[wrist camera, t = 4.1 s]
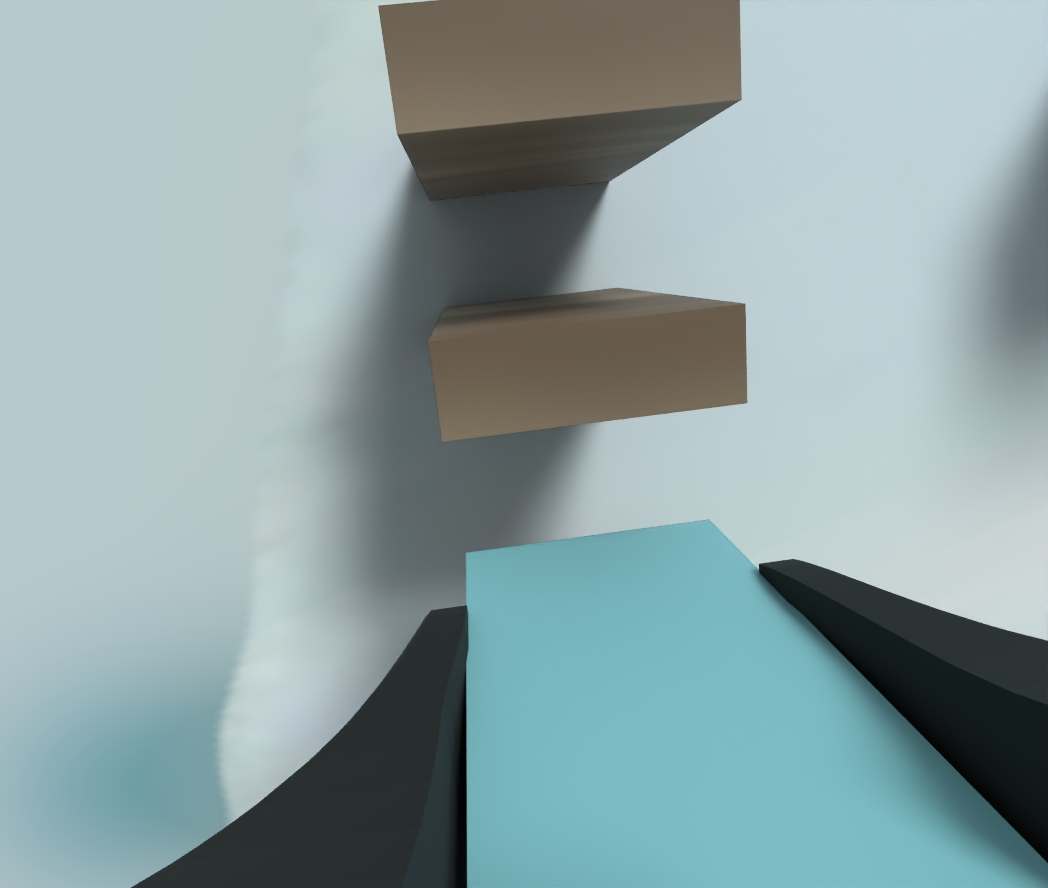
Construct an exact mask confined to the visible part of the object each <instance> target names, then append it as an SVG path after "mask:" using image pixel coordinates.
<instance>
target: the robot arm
mask: <svg viewBox="0 0 1048 888" xmlns="http://www.w3.org/2000/svg"><path fill="white" fill-rule="evenodd" d="M759 573H760V574H761V575H762V576H763V577H764V578H765V579H766V580H767V581H768V582H769V583H770V584H771V585H772V586H773V587H774V588H775V589H776V590H777V592H778V593H779V594H780V595H781V596H782V597H783V598H784V599H785V600H786V601H787V602H788V603H790V604H791V605H792V606H793V607H794V608H796V609H797V610H798V611H799V612H800V613H801V614H803V615H804V616H805V617H806V618H807V619H808V620H809V621H810V622H811V623H812V624H813V625H814V626H815V627H816V628H817V630H818V631H819V632H820V633H821V634H822V635H823V636H824V637H825V638H826V639H827V640H828V641H829V642H830V643H831V644H832V645H833V646H834V647H835V648H836V649H837V650H838V651H839V652H840V653H841V654H842V655H843V656H844V657H845V658H846V659H847V660H848V661H849V662H850V663H851V664H852V665H853V666H854V667H855V668H856V669H857V670H858V671H859V672H860V673H861V674H862V675H863V676H864V677H865V678H866V679H867V680H868V681H869V682H870V683H871V684H872V685H873V686H874V687H875V688H876V689H877V690H878V691H879V692H880V693H881V694H882V695H883V696H884V697H885V699H886V700H887V701H888V702H889V703H890V704H891V705H892V706H893V707H894V708H895V709H896V710H897V711H898V712H899V713H900V714H901V715H902V716H903V717H904V718H905V719H906V720H907V721H908V722H909V723H910V724H911V725H912V726H913V727H914V728H915V729H916V730H917V731H918V732H919V733H920V734H921V735H922V736H923V737H924V738H925V739H926V740H927V741H928V742H929V743H930V744H931V745H932V746H933V747H934V748H935V749H936V750H937V751H938V752H939V753H940V754H941V755H942V756H943V757H944V758H945V759H946V760H947V761H948V762H949V763H950V764H951V765H952V766H953V768H954V769H955V770H956V771H957V772H958V773H959V774H960V775H961V776H962V777H963V778H964V779H965V780H966V781H967V782H968V783H969V784H970V785H971V786H972V787H973V788H974V789H975V790H976V791H977V792H978V793H979V794H980V795H981V796H982V797H983V798H984V799H985V800H986V801H987V802H988V803H989V804H990V805H991V806H992V807H993V808H994V809H995V810H996V811H997V812H998V813H999V814H1000V815H1001V816H1002V817H1003V818H1004V819H1005V820H1006V821H1007V822H1008V823H1009V824H1010V825H1011V826H1012V827H1013V828H1014V829H1015V830H1016V831H1017V832H1018V833H1019V834H1020V835H1021V837H1022V838H1023V839H1024V840H1025V841H1026V842H1027V843H1028V844H1029V845H1030V846H1031V847H1032V848H1033V849H1034V850H1035V851H1036V852H1037V853H1038V854H1039V855H1040V856H1041V857H1042V858H1043V859H1044V860H1045V861H1046V862H1047V863H1048V641H1046V640H1042V639H1038V638H1034V637H1031V636H1027V635H1023V634H1019V633H1015V632H1011V631H1007V630H1004V629H1000V628H997V627H993V626H990V625H986V624H983V623H979V622H976V621H973V620H970V619H967V618H964V617H961V616H958V615H954V614H951V613H948V612H945V611H942V610H939V609H936V608H933V607H930V606H927V605H924V604H921V603H918V602H916V601H913V600H910V599H907V598H904V597H902V596H899V595H896V594H893V593H891V592H888V591H885V590H882V589H880V588H877V587H874V586H872V585H869V584H866V583H864V582H861V581H858V580H856V579H853V578H850V577H848V576H845V575H842V574H840V573H837V572H834V571H831V570H828V569H825V568H823V567H820V566H817V565H814V564H811V563H807V562H804V561H800V560H795V559H790V560H783V561H776V562H769V563H762V564H759ZM468 649H469V635H468V609H467V605H466V606H459V607H452V608H445V609H438V610H431V611H430V613H429V614H428V615H427V616H426V617H425V619H424V620H423V622H422V624H421V625H420V627H419V628H418V630H417V632H416V633H415V635H414V636H413V638H412V639H411V641H410V642H409V644H408V645H407V647H406V648H405V650H404V651H403V653H402V654H401V656H400V657H399V659H398V660H397V661H396V663H395V664H394V665H393V667H392V668H391V670H390V671H389V672H388V674H387V675H386V677H385V678H384V679H383V681H382V682H381V683H380V685H379V686H378V687H377V688H376V690H375V691H374V692H373V693H372V694H371V696H370V697H369V698H368V699H367V701H366V702H365V703H364V704H363V705H362V707H361V708H360V709H359V710H358V711H357V713H356V714H355V715H354V716H353V717H352V719H351V720H350V721H349V722H348V723H347V724H346V725H345V726H344V727H343V728H342V729H341V730H340V731H339V732H338V733H337V734H336V735H335V736H334V737H333V738H332V739H331V740H330V741H329V742H328V743H327V744H326V745H325V746H324V747H323V748H322V749H321V750H320V751H319V752H318V753H317V754H316V755H315V756H314V757H313V758H312V759H310V760H309V761H308V762H307V763H306V764H305V765H304V766H302V767H301V768H300V769H299V770H298V771H296V772H295V773H294V774H293V775H292V776H290V777H289V778H288V779H287V780H286V781H284V782H283V783H282V784H281V785H280V786H278V787H277V788H276V789H275V790H274V791H272V792H271V793H270V794H269V795H268V796H266V797H265V798H264V799H263V800H262V801H260V802H259V803H258V804H257V805H255V806H254V807H253V808H251V809H250V810H249V811H247V812H246V813H244V814H243V815H242V816H240V817H239V818H238V819H236V820H235V821H234V822H232V823H231V824H229V825H228V826H227V827H225V828H224V829H223V830H221V831H220V832H218V833H217V834H215V835H214V836H212V837H211V838H209V839H208V840H207V841H205V842H204V843H202V844H201V845H199V846H198V847H197V848H195V849H193V850H192V851H190V852H189V853H187V854H186V855H184V856H182V857H181V858H179V859H178V860H176V861H175V862H173V863H172V864H170V865H168V866H167V867H165V868H163V869H162V870H160V871H158V872H157V873H155V874H153V875H151V876H150V877H148V878H146V879H145V880H143V881H141V882H140V883H138V884H136V885H135V886H133V887H131V888H467V707H466V662H467V656H468Z"/></svg>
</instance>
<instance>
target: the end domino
mask: <svg viewBox="0 0 1048 888" xmlns="http://www.w3.org/2000/svg"><path fill="white" fill-rule="evenodd" d="M378 7H379V14H380V21H381V28H382V34H383V41H384V48H385V55H386V62H387V68H388V75H389V82H390V89H391V95H392V102H393V109H394V116H395V123H396V129H397V135H398V137H399V139H400V141H401V143H402V145H403V147H404V149H405V151H406V153H407V155H408V157H409V159H410V161H411V163H412V165H413V167H414V169H415V171H416V173H417V175H418V177H419V180H420V182H421V184H422V186H423V188H424V190H425V192H426V194H427V196H428V198H429V200H438V199H447V198H457V197H466V196H475V195H485V194H494V193H503V192H513V191H522V190H531V189H541V188H550V187H559V186H569V185H578V184H587V183H597V182H606V181H611V180H612V179H614V178H616V177H617V176H619V175H620V174H622V173H624V172H625V171H627V170H628V169H630V168H632V167H633V166H635V165H637V164H638V163H640V162H641V161H643V160H645V159H646V158H648V157H649V156H651V155H653V154H654V153H656V152H658V151H659V150H661V149H662V148H664V147H666V146H667V145H669V144H670V143H672V142H674V141H675V140H677V139H678V138H680V137H682V136H683V135H685V134H687V133H688V132H690V131H691V130H693V129H695V128H696V127H698V126H699V125H701V124H703V123H704V122H706V121H708V120H709V119H711V118H712V117H714V116H716V115H717V114H719V113H720V112H722V111H724V110H725V109H727V108H729V107H730V106H732V105H733V104H735V103H737V102H738V101H740V100H741V99H742V98H741V48H740V0H437V1H426V2H415V3H404V4H392V5H381V6H378Z"/></svg>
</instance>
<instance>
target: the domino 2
mask: <svg viewBox="0 0 1048 888" xmlns="http://www.w3.org/2000/svg"><path fill="white" fill-rule="evenodd" d="M466 605H467V609H468V635H469V649H468V656H467V662H466V707H467V888H1048V863H1047V862H1046V861H1045V860H1044V859H1043V858H1042V857H1041V856H1040V855H1039V854H1038V853H1037V852H1036V851H1035V850H1034V849H1033V848H1032V847H1031V846H1030V845H1029V844H1028V843H1027V842H1026V841H1025V840H1024V839H1023V838H1022V837H1021V835H1020V834H1019V833H1018V832H1017V831H1016V830H1015V829H1014V828H1013V827H1012V826H1011V825H1010V824H1009V823H1008V822H1007V821H1006V820H1005V819H1004V818H1003V817H1002V816H1001V815H1000V814H999V813H998V812H997V811H996V810H995V809H994V808H993V807H992V806H991V805H990V804H989V803H988V802H987V801H986V800H985V799H984V798H983V797H982V796H981V795H980V794H979V793H978V792H977V791H976V790H975V789H974V788H973V787H972V786H971V785H970V784H969V783H968V782H967V781H966V780H965V779H964V778H963V777H962V776H961V775H960V774H959V773H958V772H957V771H956V770H955V769H954V768H953V766H952V765H951V764H950V763H949V762H948V761H947V760H946V759H945V758H944V757H943V756H942V755H941V754H940V753H939V752H938V751H937V750H936V749H935V748H934V747H933V746H932V745H931V744H930V743H929V742H928V741H927V740H926V739H925V738H924V737H923V736H922V735H921V734H920V733H919V732H918V731H917V730H916V729H915V728H914V727H913V726H912V725H911V724H910V723H909V722H908V721H907V720H906V719H905V718H904V717H903V716H902V715H901V714H900V713H899V712H898V711H897V710H896V709H895V708H894V707H893V706H892V705H891V704H890V703H889V702H888V701H887V700H886V699H885V697H884V696H883V695H882V694H881V693H880V692H879V691H878V690H877V689H876V688H875V687H874V686H873V685H872V684H871V683H870V682H869V681H868V680H867V679H866V678H865V677H864V676H863V675H862V674H861V673H860V672H859V671H858V670H857V669H856V668H855V667H854V666H853V665H852V664H851V663H850V662H849V661H848V660H847V659H846V658H845V657H844V656H843V655H842V654H841V653H840V652H839V651H838V650H837V649H836V648H835V647H834V646H833V645H832V644H831V643H830V642H829V641H828V640H827V639H826V638H825V637H824V636H823V635H822V634H821V633H820V632H819V631H818V630H817V628H816V627H815V626H814V625H813V624H812V623H811V622H810V621H809V620H808V619H807V618H806V617H805V616H804V615H803V614H801V613H800V612H799V611H798V610H797V609H796V608H794V607H793V606H792V605H791V604H790V603H788V602H787V601H786V600H785V599H784V598H783V597H782V596H781V595H780V594H779V593H778V592H777V590H776V589H775V588H774V587H773V586H772V585H771V584H770V583H769V582H768V581H767V580H766V579H765V578H764V577H763V576H762V575H761V574H760V573H759V570H758V569H757V568H756V567H755V566H754V565H753V564H752V563H751V562H750V561H749V559H748V558H747V557H746V556H745V555H744V554H743V553H742V552H741V551H740V550H739V549H738V548H737V547H736V546H735V545H734V544H733V543H732V542H731V541H730V540H729V539H728V538H727V537H726V536H725V535H724V534H723V533H722V532H721V531H720V530H719V529H718V528H717V527H716V526H715V525H714V524H713V523H712V522H711V521H710V520H709V519H708V520H701V521H694V522H687V523H679V524H672V525H665V526H657V527H650V528H643V529H636V530H628V531H621V532H614V533H606V534H599V535H592V536H585V537H577V538H570V539H563V540H555V541H548V542H541V543H533V544H526V545H519V546H512V547H504V548H497V549H490V550H482V551H475V552H468V553H466Z"/></svg>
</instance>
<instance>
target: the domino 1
mask: <svg viewBox="0 0 1048 888" xmlns="http://www.w3.org/2000/svg"><path fill="white" fill-rule="evenodd" d="M428 349H429V356H430V362H431V369H432V376H433V383H434V389H435V396H436V403H437V410H438V417H439V423H440V430H441V437H442V442H447V441H454V440H462V439H470V438H478V437H486V436H494V435H501V434H509V433H517V432H525V431H533V430H541V429H548V428H556V427H564V426H572V425H580V424H587V423H595V422H603V421H611V420H619V419H627V418H634V417H642V416H650V415H658V414H666V413H673V412H681V411H689V410H697V409H705V408H713V407H720V406H728V405H736V404H744V403H747V367H746V314H745V304H743V303H735V302H727V301H719V300H711V299H703V298H695V297H687V296H679V295H671V294H663V293H655V292H647V291H639V290H631V289H622V288H612V289H603V290H594V291H586V292H577V293H569V294H560V295H552V296H543V297H534V298H526V299H517V300H509V301H500V302H491V303H483V304H474V305H466V306H457V307H449V308H444V310H443V312H442V314H441V316H440V318H439V320H438V322H437V324H436V326H435V328H434V330H433V332H432V334H431V336H430V338H429V340H428Z"/></svg>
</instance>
